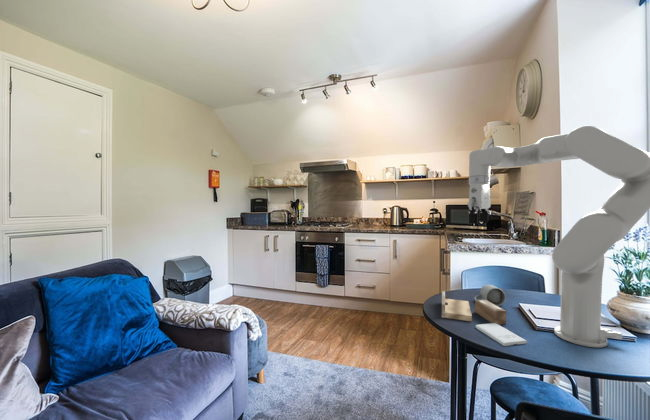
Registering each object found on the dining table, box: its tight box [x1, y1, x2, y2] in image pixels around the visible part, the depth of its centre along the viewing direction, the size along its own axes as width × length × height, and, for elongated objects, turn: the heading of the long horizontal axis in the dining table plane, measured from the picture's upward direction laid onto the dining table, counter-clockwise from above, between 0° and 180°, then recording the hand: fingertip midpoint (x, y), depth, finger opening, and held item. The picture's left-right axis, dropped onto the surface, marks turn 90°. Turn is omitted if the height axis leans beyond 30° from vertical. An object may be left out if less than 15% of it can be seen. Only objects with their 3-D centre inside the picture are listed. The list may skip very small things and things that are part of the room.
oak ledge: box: [441, 290, 473, 322], centre depth 111 cm, size 10×16×5 cm, turn 157°
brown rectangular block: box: [474, 299, 507, 325], centre depth 105 cm, size 4×11×5 cm, turn 5°
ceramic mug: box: [474, 284, 507, 307], centre depth 120 cm, size 11×8×8 cm
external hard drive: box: [475, 322, 528, 347], centre depth 92 cm, size 2×8×12 cm
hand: (478, 222), depth 114 cm, fingers open, 9 cm apart
